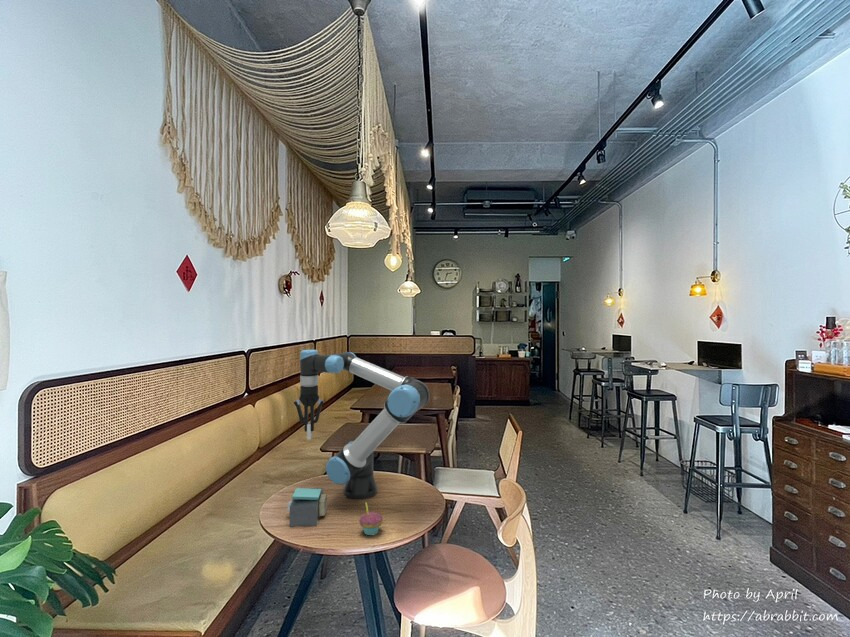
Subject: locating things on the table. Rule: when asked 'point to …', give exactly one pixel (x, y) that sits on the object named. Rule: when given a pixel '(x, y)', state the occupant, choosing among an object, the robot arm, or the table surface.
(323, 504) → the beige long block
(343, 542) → the table surface
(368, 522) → the cupcake
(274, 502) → the table surface
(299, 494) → the teal rectangular plate
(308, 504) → the grey block
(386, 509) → the table surface
